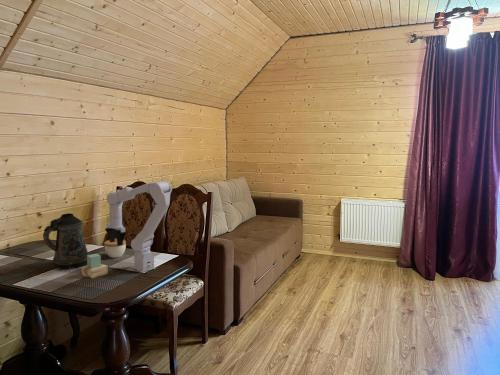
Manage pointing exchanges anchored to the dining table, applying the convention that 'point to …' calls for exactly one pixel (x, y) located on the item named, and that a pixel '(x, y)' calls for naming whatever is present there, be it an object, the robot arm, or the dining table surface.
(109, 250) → the lidded jar
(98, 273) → the birch base block
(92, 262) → the teal block
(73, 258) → the beer stein
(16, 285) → the dining table surface
